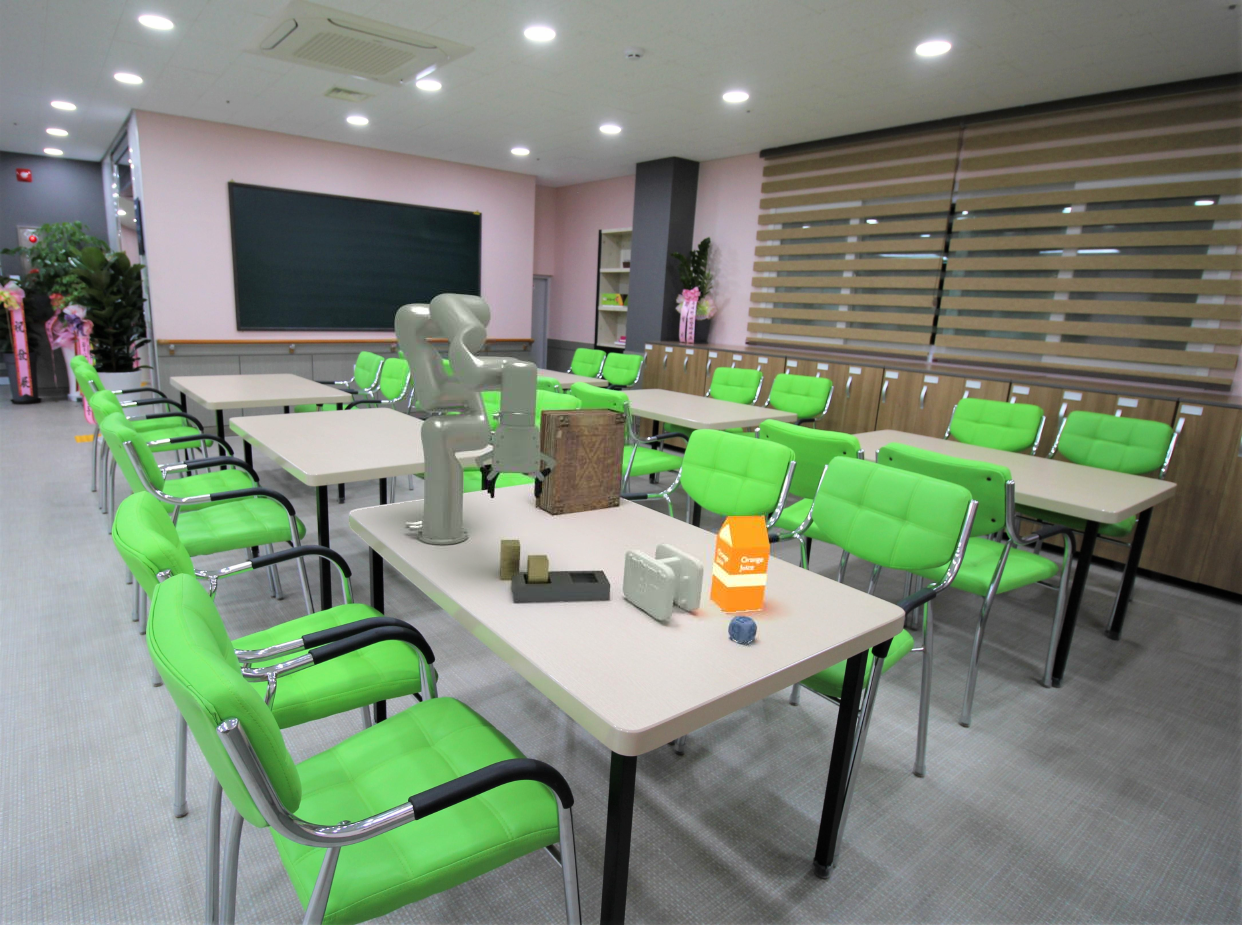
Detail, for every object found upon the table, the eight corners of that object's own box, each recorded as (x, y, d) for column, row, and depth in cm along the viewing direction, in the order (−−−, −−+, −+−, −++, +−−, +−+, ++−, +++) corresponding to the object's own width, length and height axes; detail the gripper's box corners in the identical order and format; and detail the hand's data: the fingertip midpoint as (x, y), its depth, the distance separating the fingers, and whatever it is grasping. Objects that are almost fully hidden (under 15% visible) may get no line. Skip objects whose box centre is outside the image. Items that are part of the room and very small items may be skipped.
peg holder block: (513, 602, 138) (515, 565, 136) (511, 587, 145) (512, 552, 144) (609, 600, 143) (612, 564, 141) (601, 585, 150) (604, 551, 148)
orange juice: (762, 611, 143) (774, 521, 139) (724, 614, 140) (735, 522, 136) (745, 596, 150) (756, 510, 146) (709, 598, 148) (718, 510, 143)
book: (551, 516, 198) (556, 415, 192) (535, 507, 205) (540, 410, 199) (619, 506, 213) (626, 412, 207) (602, 499, 220) (609, 408, 214)
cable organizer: (702, 616, 138) (708, 563, 136) (661, 627, 132) (667, 571, 130) (658, 590, 150) (662, 540, 148) (618, 598, 144) (623, 546, 142)
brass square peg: (500, 580, 149) (502, 545, 147) (499, 573, 152) (500, 539, 151) (518, 579, 150) (520, 545, 148) (517, 573, 153) (518, 539, 152)
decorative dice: (755, 639, 130) (758, 620, 129) (744, 646, 127) (747, 626, 126) (738, 632, 132) (740, 613, 132) (726, 638, 130) (729, 619, 129)
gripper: (476, 420, 138) (474, 501, 142) (560, 423, 142) (556, 501, 146) (475, 415, 145) (473, 492, 149) (555, 418, 150) (551, 492, 153)
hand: (514, 496), depth 147 cm, fingers open, 9 cm apart
